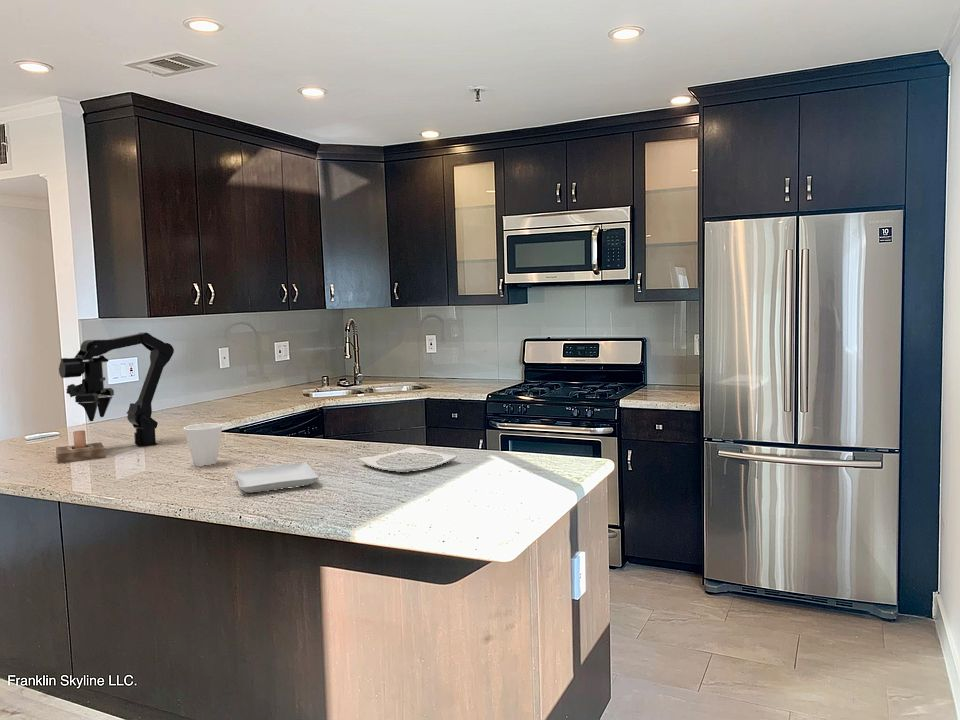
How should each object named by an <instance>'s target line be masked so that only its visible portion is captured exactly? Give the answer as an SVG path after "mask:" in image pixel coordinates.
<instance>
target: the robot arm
mask: <svg viewBox="0 0 960 720" xmlns="http://www.w3.org/2000/svg"><path fill="white" fill-rule="evenodd" d="M136 345H142V346H143V347H144V348H145V349H147V350H148V351H150V354H149V360H150V361H149V362H150V364H149V367H148V371H147V374H146V376H145V380H144V381H143V385H142V387H141V390H140V394H139V395H138V396H139V397H138V398H137V401H135V402H134V403H131V402H130V404H129V407H128V410H127V411H126V414H127V417H126V418H127V420H128V423H130V424H132V426H133V427H132V428H133V429H135V432H134V433H133V436H134V437H133V438H134V444H135V445H136V446H137V447H145V446H146V447H147V446H152V445H157V444H158V443H157V442H156V441H157V440H156V429H157V427H158V423H159V422H157V420H155V419H154V418H153V417H152V413H153V409H152V402H153V399H154V396H155V394H156V390H157V388H158V384H159V381H160V380H161V376H162V374H163V371H164V367H165V366H166V365H167V364H168V363H169V362H170V360H171V359H172V358H173V357H172V356H173V355H174V353H175V349H174V346H173V345H172V344H171V343H169V342H168V343H167V342H164V341H162V340H160V339H159V338H157V337H155V336H153V335H152V334H150V333H149V332H138V333H135V334H128V335H124V336H119V337H114V338H109V339H86V340H83V341H82V342H81V344H80V349H79V350H78V351H77V354H76V355H75V356H74V357H72V358H71V357H70V358H67V357H62V358H60V362H59V365H58V366H59V367H58V374H59V376H60V378H62V379H69V378H78V377H79V378H81V377H82V375H84V378H83V379H82V380H81V383H80V384H77V385H76V384H74V383H71V384H68V385H67V386H66V387H67V388H66V394H69V395H68V396H70V398H73V397H74V400H75V401H74V402H75V403H77V404H78V405H80V406H81V407H83V409H84V410H85V413H86V416H87V418H88V420H89V422H94V420H95V417H96V413H97V410H98V413H99V417H100V418H104V417H105V415H106V412H107V410H108V407H109V405H110V403H111V400H112V399H113V396H114V395H115V391H114V389H113V388H112V387H104V386H105V385H104V382H105V381H106V376H105V377H104V371H103V369H104V367H103V363H107V362H109V361H110V360H109V359H108V358H106V357H105V354H107V353H109V352H111V351H113V350H118V349H122V348H127V347H130V346H136Z"/></svg>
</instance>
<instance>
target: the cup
mask: <svg viewBox="0 0 960 720" xmlns="http://www.w3.org/2000/svg"><path fill="white" fill-rule="evenodd" d="M223 425H224V424H222V423H215V422H209V423H208V422H207V423H205V422H204V423H196V424H190V425H186V426H184V427H183V430H184V435H185V438H186V443H187V445H188V448H189V452H190V455H191V456H190V457H191V459H192V463H193V466H194V465H196V466H195V467H204V466H203V465H210V464H214V463H216V462H218V455H219V450H220V443H221V437H222V431H223V430H222V429H223ZM216 464H217V463H216ZM214 465H215V464H214ZM210 466H211V465H210Z"/></svg>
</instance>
